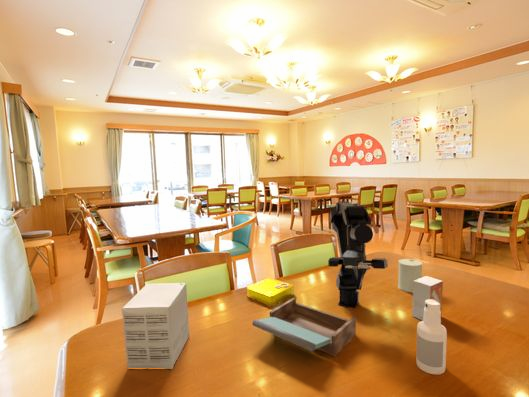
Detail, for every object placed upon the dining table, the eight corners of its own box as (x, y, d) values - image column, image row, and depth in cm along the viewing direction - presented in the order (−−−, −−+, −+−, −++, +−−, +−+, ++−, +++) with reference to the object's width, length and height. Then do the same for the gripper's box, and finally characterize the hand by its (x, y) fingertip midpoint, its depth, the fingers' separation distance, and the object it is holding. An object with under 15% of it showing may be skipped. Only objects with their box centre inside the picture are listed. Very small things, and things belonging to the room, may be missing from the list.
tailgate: (273, 315, 103) (252, 319, 95) (330, 337, 89) (312, 344, 81) (272, 321, 102) (252, 326, 95) (329, 344, 89) (311, 352, 81)
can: (422, 286, 134) (423, 259, 133) (420, 294, 126) (421, 265, 125) (399, 282, 139) (400, 256, 138) (396, 290, 131) (396, 262, 130)
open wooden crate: (293, 313, 114) (293, 297, 113) (355, 335, 98) (355, 317, 98) (270, 328, 104) (269, 311, 103) (334, 356, 88) (334, 336, 88)
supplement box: (150, 335, 102) (146, 282, 100) (190, 335, 102) (187, 282, 100) (125, 370, 85) (119, 307, 83) (173, 370, 85) (169, 307, 82)
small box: (429, 323, 104) (430, 286, 102) (411, 316, 109) (412, 280, 108) (442, 316, 108) (443, 280, 107) (424, 309, 114) (425, 275, 112)
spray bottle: (411, 359, 86) (412, 297, 84) (434, 357, 86) (436, 295, 84) (425, 376, 79) (427, 309, 77) (451, 374, 79) (454, 307, 77)
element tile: (269, 286, 141) (268, 276, 140) (295, 294, 131) (295, 283, 130) (245, 297, 130) (244, 286, 130) (272, 307, 120) (271, 295, 119)
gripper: (321, 243, 105) (323, 290, 103) (379, 243, 95) (382, 295, 93) (333, 241, 114) (334, 284, 113) (386, 241, 104) (389, 289, 103)
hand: (358, 288), depth 105 cm, fingers closed
